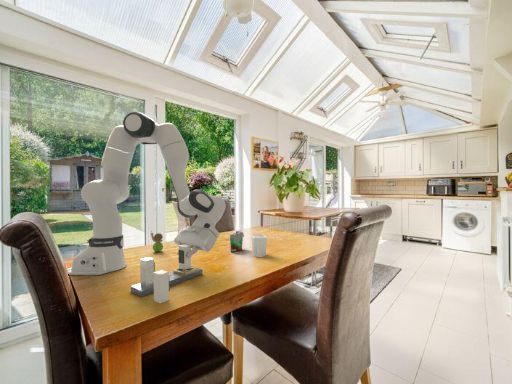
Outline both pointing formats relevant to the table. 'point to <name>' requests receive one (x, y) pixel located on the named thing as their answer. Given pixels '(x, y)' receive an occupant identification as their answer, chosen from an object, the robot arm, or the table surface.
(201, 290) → the table surface
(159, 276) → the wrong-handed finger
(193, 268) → the rail
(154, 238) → the snail figurine
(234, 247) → the food container
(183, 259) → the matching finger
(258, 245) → the white cup
